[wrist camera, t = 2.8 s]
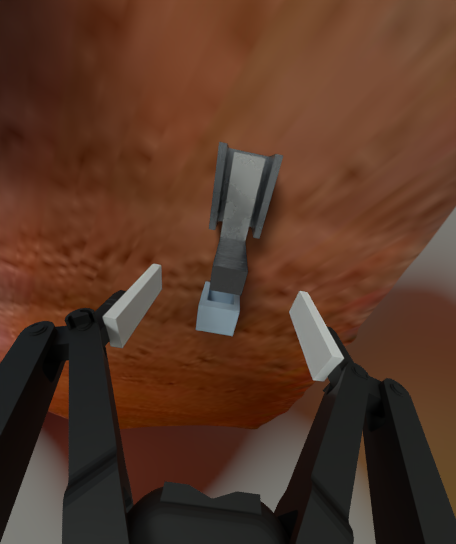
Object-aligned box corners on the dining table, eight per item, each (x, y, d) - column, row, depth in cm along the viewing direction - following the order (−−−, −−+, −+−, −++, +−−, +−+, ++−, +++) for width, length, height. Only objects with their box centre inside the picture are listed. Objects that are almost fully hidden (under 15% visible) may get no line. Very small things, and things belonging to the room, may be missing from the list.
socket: (205, 281, 33) (198, 304, 27) (239, 287, 33) (239, 311, 27) (202, 304, 36) (195, 329, 30) (233, 309, 36) (232, 336, 30)
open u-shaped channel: (223, 147, 22) (219, 141, 17) (274, 158, 22) (283, 155, 17) (214, 218, 26) (208, 228, 22) (255, 226, 27) (259, 238, 22)
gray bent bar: (234, 154, 21) (231, 141, 11) (261, 160, 21) (281, 152, 11) (216, 268, 30) (204, 316, 20) (235, 271, 30) (233, 321, 20)
